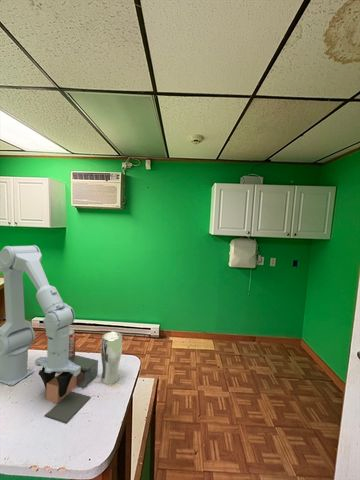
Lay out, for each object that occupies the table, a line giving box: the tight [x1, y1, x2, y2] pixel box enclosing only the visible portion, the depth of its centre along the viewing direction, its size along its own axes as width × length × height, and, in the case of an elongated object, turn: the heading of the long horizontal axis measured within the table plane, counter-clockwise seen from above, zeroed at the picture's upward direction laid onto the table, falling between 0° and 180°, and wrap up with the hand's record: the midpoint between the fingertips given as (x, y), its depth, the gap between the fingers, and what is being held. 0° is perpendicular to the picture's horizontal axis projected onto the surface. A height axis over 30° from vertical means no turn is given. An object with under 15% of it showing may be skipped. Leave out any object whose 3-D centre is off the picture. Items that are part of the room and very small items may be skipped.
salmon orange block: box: [45, 372, 78, 404], centre depth 74 cm, size 4×10×5 cm, turn 165°
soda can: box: [68, 328, 77, 358], centre depth 86 cm, size 7×7×13 cm
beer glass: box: [100, 331, 123, 385], centre depth 81 cm, size 7×7×15 cm
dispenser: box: [58, 354, 99, 389], centre depth 80 cm, size 10×7×6 cm
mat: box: [44, 390, 92, 424], centre depth 68 cm, size 7×10×1 cm
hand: (56, 392), depth 71 cm, fingers closed on salmon orange block, 4 cm apart
